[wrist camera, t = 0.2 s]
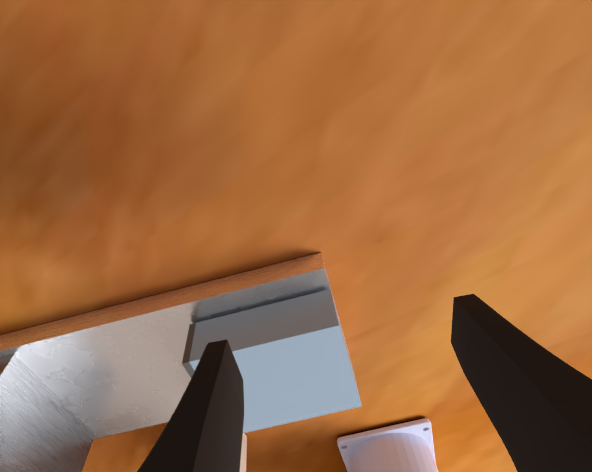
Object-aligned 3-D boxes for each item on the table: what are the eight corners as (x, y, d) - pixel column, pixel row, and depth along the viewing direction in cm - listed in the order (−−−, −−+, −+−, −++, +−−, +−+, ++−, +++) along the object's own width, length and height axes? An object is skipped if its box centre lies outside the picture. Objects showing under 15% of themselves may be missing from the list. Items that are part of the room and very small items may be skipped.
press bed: (351, 360, 28) (373, 451, 23) (80, 424, 30) (41, 523, 24) (321, 252, 23) (340, 337, 17) (-8, 337, 24) (-85, 439, 19)
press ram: (352, 368, 26) (361, 406, 24) (231, 396, 27) (229, 436, 24) (330, 289, 22) (339, 325, 20) (189, 324, 23) (181, 363, 20)
